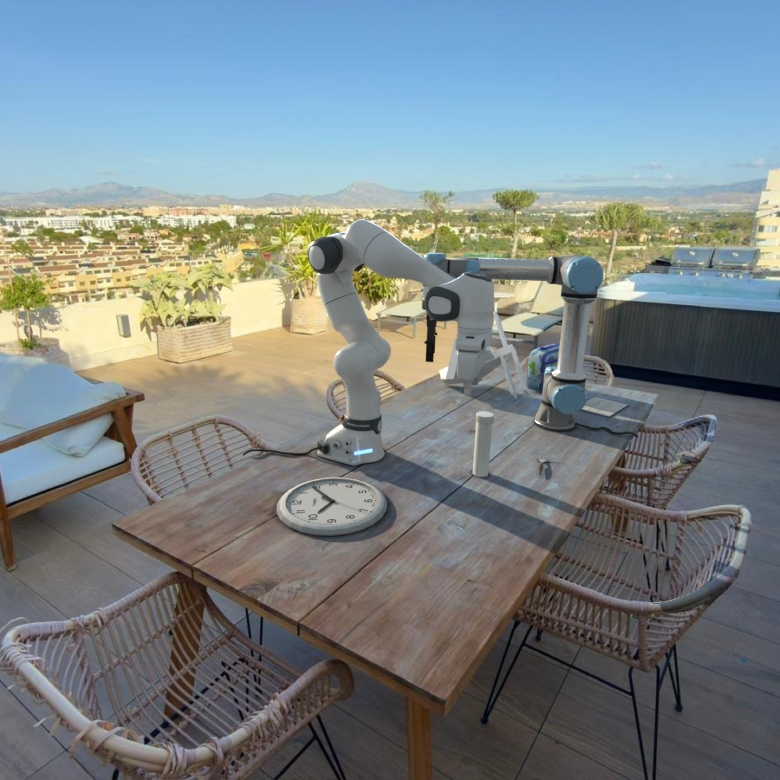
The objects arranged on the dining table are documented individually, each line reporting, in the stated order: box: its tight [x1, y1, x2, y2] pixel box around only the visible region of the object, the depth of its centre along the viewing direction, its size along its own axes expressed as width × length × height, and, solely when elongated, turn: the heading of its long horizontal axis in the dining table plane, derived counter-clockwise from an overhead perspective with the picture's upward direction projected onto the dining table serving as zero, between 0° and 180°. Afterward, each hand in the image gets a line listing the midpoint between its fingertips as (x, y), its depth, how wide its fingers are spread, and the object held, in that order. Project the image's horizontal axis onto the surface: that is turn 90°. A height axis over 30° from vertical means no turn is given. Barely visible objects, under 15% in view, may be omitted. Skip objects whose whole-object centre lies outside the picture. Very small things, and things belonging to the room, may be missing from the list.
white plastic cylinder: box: [472, 420, 493, 478], centre depth 160 cm, size 5×5×19 cm
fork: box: [538, 451, 548, 475], centre depth 168 cm, size 3×16×2 cm, turn 160°
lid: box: [475, 410, 495, 424], centre depth 157 cm, size 5×5×2 cm
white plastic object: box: [438, 310, 531, 400], centre depth 245 cm, size 37×45×31 cm
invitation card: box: [580, 396, 629, 418], centre depth 226 cm, size 21×1×15 cm
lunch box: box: [526, 343, 560, 394], centre depth 248 cm, size 26×11×21 cm, turn 135°
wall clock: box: [276, 476, 388, 537], centre depth 142 cm, size 30×2×30 cm
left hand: (471, 389), depth 138 cm, fingers open, 8 cm apart
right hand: (430, 357), depth 190 cm, fingers open, 13 cm apart
